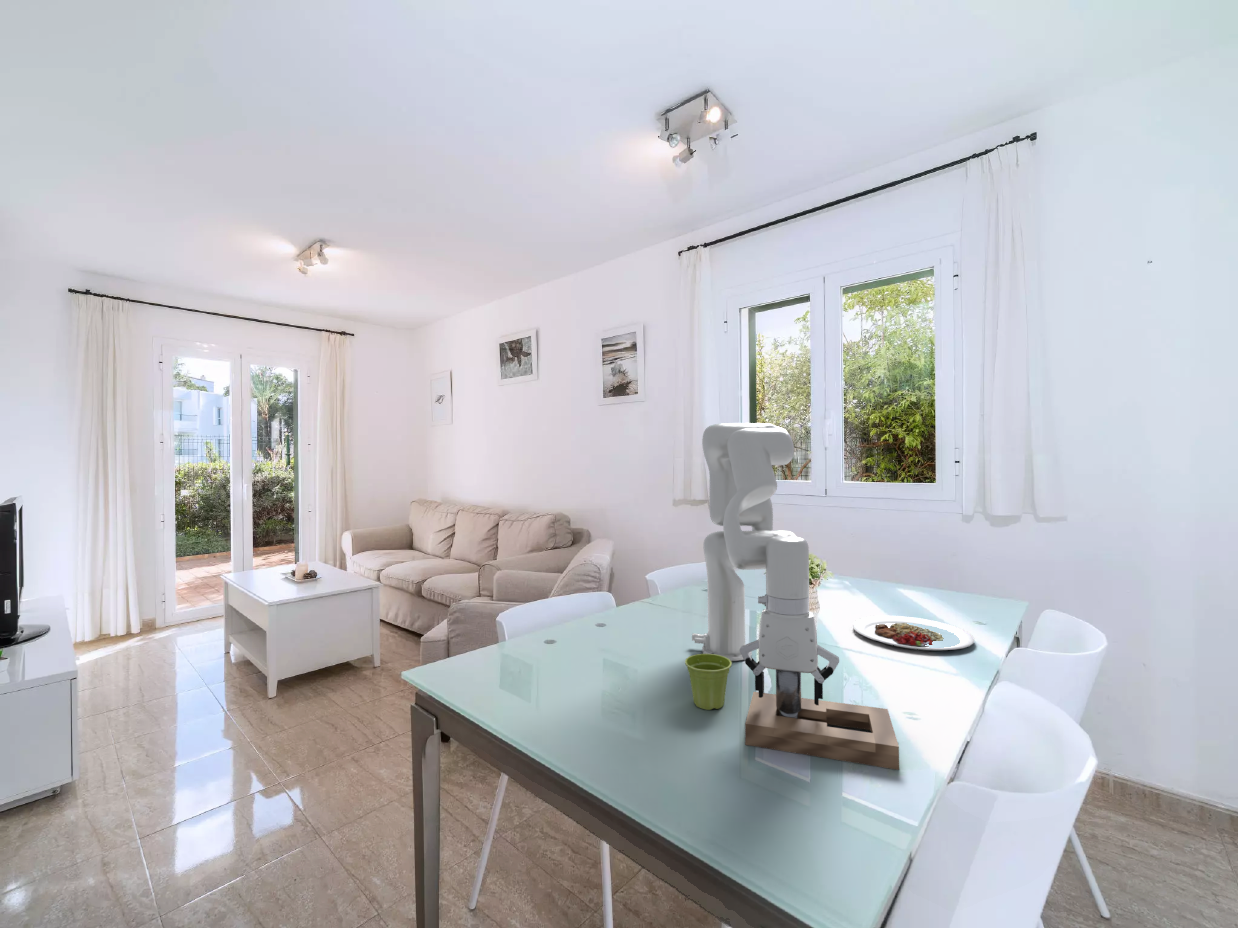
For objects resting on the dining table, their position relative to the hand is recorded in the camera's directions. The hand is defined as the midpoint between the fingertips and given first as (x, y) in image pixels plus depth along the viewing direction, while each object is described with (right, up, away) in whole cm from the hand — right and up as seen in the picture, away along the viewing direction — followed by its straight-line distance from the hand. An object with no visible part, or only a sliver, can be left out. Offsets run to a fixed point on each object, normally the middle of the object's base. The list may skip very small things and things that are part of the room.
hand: (788, 698), depth 98 cm
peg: (0, -6, 0) cm, 6 cm away
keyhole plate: (+5, -6, -2) cm, 8 cm away
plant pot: (-13, -7, +12) cm, 18 cm away
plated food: (+51, -6, +54) cm, 75 cm away
